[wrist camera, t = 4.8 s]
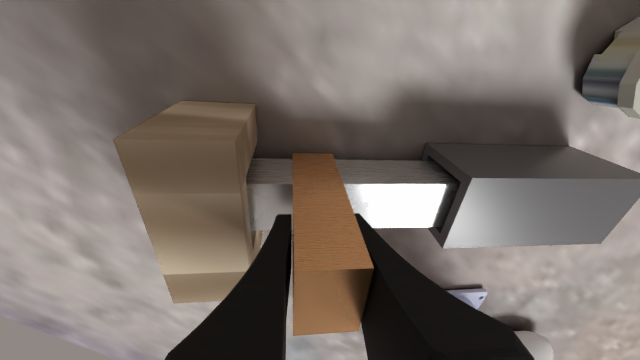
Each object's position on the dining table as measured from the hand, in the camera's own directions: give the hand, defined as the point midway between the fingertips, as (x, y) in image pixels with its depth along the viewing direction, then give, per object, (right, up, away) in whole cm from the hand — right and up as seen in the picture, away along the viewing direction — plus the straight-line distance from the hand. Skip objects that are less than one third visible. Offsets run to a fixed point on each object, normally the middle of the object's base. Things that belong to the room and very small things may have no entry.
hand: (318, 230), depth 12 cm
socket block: (-6, +3, +4) cm, 8 cm away
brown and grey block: (+2, +3, +5) cm, 6 cm away
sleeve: (+12, +3, +7) cm, 14 cm away
